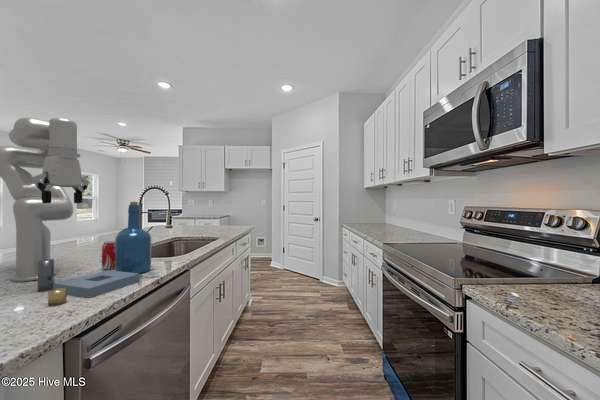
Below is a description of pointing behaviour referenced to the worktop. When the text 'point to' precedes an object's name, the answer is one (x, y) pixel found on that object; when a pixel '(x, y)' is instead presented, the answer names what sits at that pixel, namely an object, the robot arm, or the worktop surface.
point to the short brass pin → (57, 297)
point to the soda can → (108, 255)
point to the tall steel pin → (45, 275)
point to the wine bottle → (133, 245)
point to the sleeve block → (98, 283)
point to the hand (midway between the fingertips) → (63, 203)
